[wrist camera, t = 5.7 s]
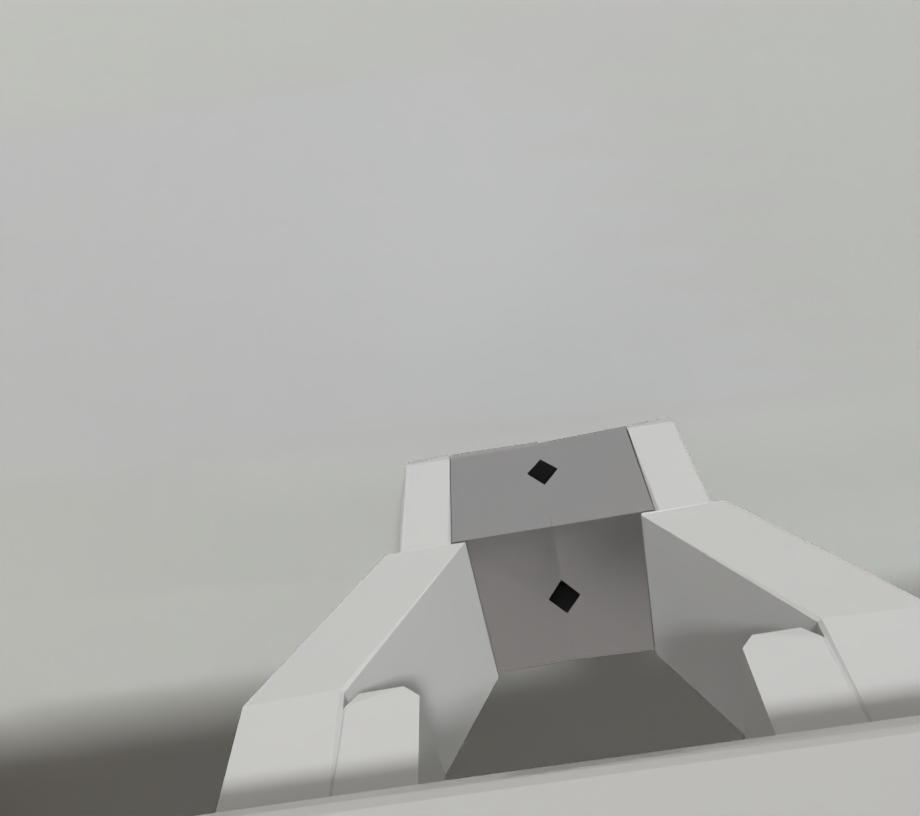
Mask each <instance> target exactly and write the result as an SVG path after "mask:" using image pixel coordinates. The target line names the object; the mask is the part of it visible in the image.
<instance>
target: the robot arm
mask: <svg viewBox="0 0 920 816" xmlns="http://www.w3.org/2000/svg"><path fill="white" fill-rule="evenodd" d="M573 648H574V649H573ZM649 650H655V651H656V654H657V655H658V656H659V657H660V658H661V659H662V660H663V661H665V662H666V663H667V664H668V665H669V666H670V667H671V668H672V669H673V670H674V671H675V672H677V673H678V674H679V675H680V676H681V677H682V678H683V679H684V680H685V681H686V682H687V683H689V684H690V685H691V686H692V687H693V688H694V689H695V690H696V691H697V692H698V693H699V694H701V695H702V696H703V697H704V698H705V699H706V700H707V701H708V702H709V703H710V704H711V705H713V706H714V707H715V708H716V709H717V710H718V711H719V712H720V713H721V714H722V715H723V716H725V717H726V718H727V719H728V720H729V721H730V722H731V723H732V724H733V725H734V726H735V727H737V728H738V729H739V730H740V731H741V732H742V733H743V734H744V735H745V739H742V740H735V741H727V742H720V743H713V744H706V745H698V746H691V747H684V748H677V749H669V750H662V751H655V752H648V753H640V754H633V755H626V756H618V757H611V758H604V759H597V760H589V761H582V762H575V763H568V764H560V765H553V766H546V767H538V768H531V769H524V770H517V771H509V772H502V773H495V774H488V775H480V776H473V777H466V778H459V779H451V780H446V778H445V776H446V774H447V772H448V770H449V768H450V767H451V765H452V763H453V761H454V759H455V757H456V756H457V754H458V752H459V750H460V748H461V746H462V744H463V743H464V741H465V739H466V737H467V735H468V733H469V731H470V730H471V728H472V726H473V724H474V722H475V720H476V718H477V717H478V715H479V713H480V711H481V709H482V707H483V705H484V704H485V702H486V700H487V698H488V696H489V694H490V692H491V691H492V689H493V687H494V685H495V683H496V681H497V679H498V678H499V677H498V673H502V672H507V671H513V670H519V669H524V668H530V667H535V666H541V665H547V664H552V663H558V662H564V661H569V660H575V659H584V658H592V657H600V656H608V655H617V654H625V653H633V652H641V651H649ZM574 653H575V655H574ZM196 816H920V599H919V598H918V597H916V596H914V595H912V594H910V593H908V592H906V591H904V590H902V589H900V588H898V587H896V586H894V585H892V584H890V583H888V582H886V581H884V580H882V579H880V578H878V577H876V576H874V575H872V574H870V573H868V572H866V571H864V570H862V569H860V568H858V567H856V566H854V565H852V564H850V563H848V562H846V561H844V560H842V559H841V558H839V557H837V556H835V555H833V554H831V553H829V552H827V551H825V550H823V549H821V548H819V547H817V546H815V545H813V544H811V543H809V542H807V541H805V540H803V539H801V538H799V537H797V536H795V535H793V534H791V533H789V532H787V531H785V530H783V529H781V528H779V527H777V526H775V525H773V524H771V523H769V522H767V521H765V520H764V519H762V518H760V517H758V516H756V515H754V514H752V513H750V512H748V511H746V510H744V509H742V508H740V507H738V506H736V505H734V504H732V503H730V502H728V501H726V500H721V501H715V502H711V500H710V498H709V496H708V494H707V492H706V489H705V487H704V485H703V483H702V481H701V479H700V476H699V474H698V472H697V470H696V468H695V466H694V464H693V461H692V459H691V457H690V455H689V453H688V451H687V448H686V446H685V444H684V442H683V440H682V438H681V435H680V433H679V431H678V429H677V427H676V425H675V422H674V420H672V419H670V418H669V417H665V418H661V419H656V420H651V421H646V422H641V423H637V424H632V425H627V426H624V427H619V428H614V429H609V430H604V431H599V432H593V433H588V434H583V435H578V436H573V437H568V438H563V439H557V440H552V441H547V442H542V443H538V442H534V443H527V444H521V445H514V446H507V447H501V448H494V449H487V450H481V451H474V452H468V453H461V454H454V455H452V456H451V457H450V456H449V455H446V456H440V457H435V458H429V459H424V460H418V461H413V462H408V464H407V466H406V467H405V469H404V482H403V495H402V509H401V523H400V536H399V550H398V553H394V554H388V555H385V556H384V557H383V558H382V559H381V560H380V562H379V563H378V564H377V565H376V566H375V567H374V568H373V569H372V570H371V571H370V572H369V573H368V574H367V575H366V576H365V577H364V579H363V580H362V581H361V582H360V583H359V584H358V585H357V586H356V587H355V588H354V589H353V590H352V591H351V592H350V593H349V594H348V595H347V597H346V598H345V599H344V600H343V601H342V602H341V603H340V604H339V605H338V606H337V607H336V608H335V609H334V610H333V611H332V612H331V614H330V615H329V616H328V617H327V618H326V619H325V620H324V621H323V622H322V623H321V624H320V625H319V626H318V627H317V628H316V629H315V631H314V632H313V633H312V634H311V635H310V636H309V637H308V638H307V639H306V640H305V641H304V642H303V643H302V644H301V645H300V646H299V648H298V649H297V650H296V651H295V652H294V653H293V654H292V655H291V656H290V657H289V658H288V659H287V660H286V661H285V662H284V663H283V664H282V666H281V667H280V668H279V669H278V670H277V671H276V672H275V673H274V674H273V675H272V676H271V677H270V678H269V679H268V680H267V681H266V683H265V684H264V685H263V686H262V687H261V688H260V689H259V690H258V691H257V692H256V693H255V694H254V695H253V696H252V697H251V698H250V700H249V701H248V702H247V703H246V704H245V705H244V706H243V708H242V712H241V716H240V720H239V724H238V728H237V731H236V735H235V739H234V743H233V747H232V751H231V755H230V758H229V762H228V766H227V770H226V774H225V778H224V782H223V785H222V789H221V793H220V797H219V801H218V805H217V809H216V813H210V814H203V815H196Z"/></svg>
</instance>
